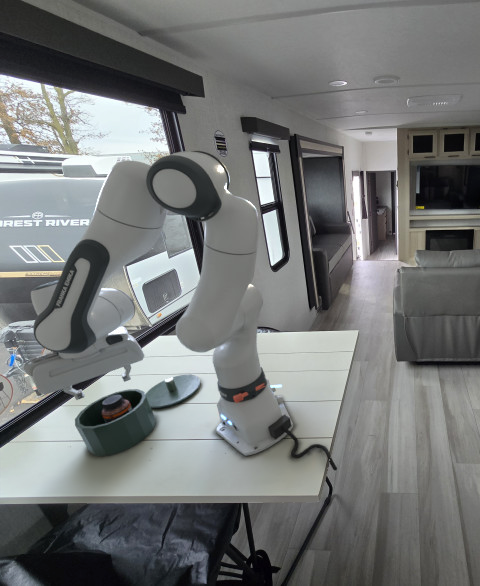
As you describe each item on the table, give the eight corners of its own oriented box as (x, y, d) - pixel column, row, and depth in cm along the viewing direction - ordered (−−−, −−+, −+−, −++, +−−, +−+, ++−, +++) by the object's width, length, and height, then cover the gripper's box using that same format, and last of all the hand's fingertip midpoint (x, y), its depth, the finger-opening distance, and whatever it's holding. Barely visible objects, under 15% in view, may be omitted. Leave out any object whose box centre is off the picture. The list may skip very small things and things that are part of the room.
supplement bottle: (145, 423, 89) (131, 392, 85) (127, 440, 84) (111, 407, 80) (126, 422, 90) (112, 391, 86) (107, 439, 85) (91, 406, 80)
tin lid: (206, 391, 102) (202, 378, 100) (149, 417, 92) (143, 403, 90) (193, 371, 113) (190, 359, 111) (140, 392, 103) (135, 380, 101)
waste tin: (160, 433, 87) (149, 406, 83) (91, 466, 77) (75, 438, 74) (151, 407, 96) (140, 382, 93) (88, 434, 87) (74, 407, 83)
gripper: (17, 367, 67) (48, 416, 72) (134, 331, 80) (153, 375, 85) (21, 356, 71) (49, 403, 76) (131, 324, 84) (149, 366, 89)
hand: (104, 388), depth 81 cm, fingers open, 8 cm apart
